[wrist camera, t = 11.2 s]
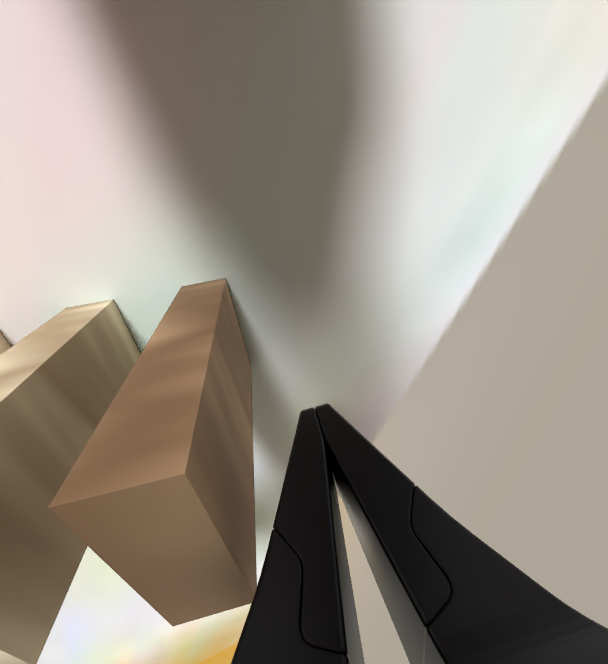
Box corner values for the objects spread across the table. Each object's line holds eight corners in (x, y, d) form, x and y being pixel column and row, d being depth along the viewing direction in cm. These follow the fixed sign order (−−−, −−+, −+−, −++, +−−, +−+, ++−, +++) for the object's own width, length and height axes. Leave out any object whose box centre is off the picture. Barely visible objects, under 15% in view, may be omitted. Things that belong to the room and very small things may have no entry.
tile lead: (225, 278, 13) (184, 473, 4) (250, 365, 15) (256, 601, 7) (181, 286, 13) (48, 508, 4) (214, 373, 15) (172, 626, 7)
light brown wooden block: (113, 299, 13) (-180, 565, 4) (156, 385, 15) (34, 666, 6) (66, 308, 12) (-353, 606, 4) (117, 393, 15) (-62, 694, 6)
